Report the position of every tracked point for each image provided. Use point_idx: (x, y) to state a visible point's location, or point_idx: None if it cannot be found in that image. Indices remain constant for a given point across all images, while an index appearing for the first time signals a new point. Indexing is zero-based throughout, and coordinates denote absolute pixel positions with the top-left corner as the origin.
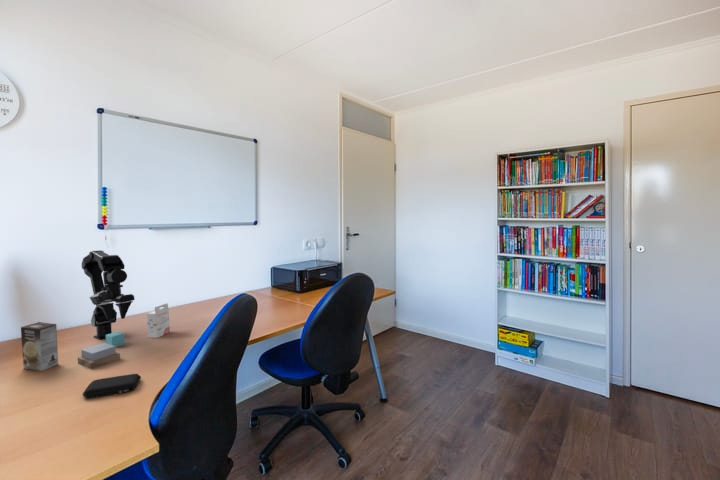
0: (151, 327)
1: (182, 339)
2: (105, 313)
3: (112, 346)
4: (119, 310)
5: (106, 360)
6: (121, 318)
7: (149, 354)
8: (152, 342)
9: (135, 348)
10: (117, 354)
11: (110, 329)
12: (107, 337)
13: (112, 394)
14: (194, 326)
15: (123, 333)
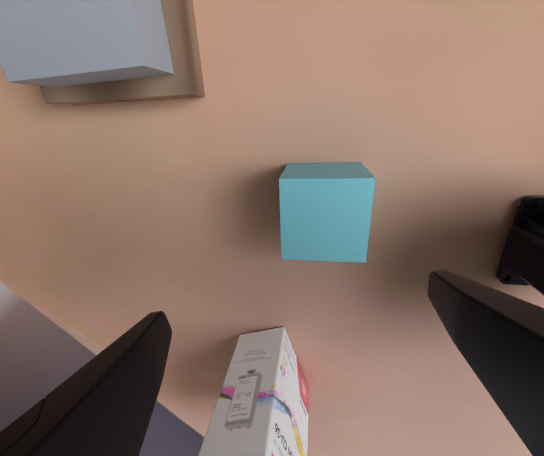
0: (250, 375)
1: None
2: (529, 322)
3: (14, 65)
4: (60, 416)
5: None
6: (154, 312)
7: (53, 211)
8: (197, 296)
9: (177, 221)
10: (42, 88)
11: (532, 281)
12: (344, 175)
13: None
14: None
15: (284, 256)
